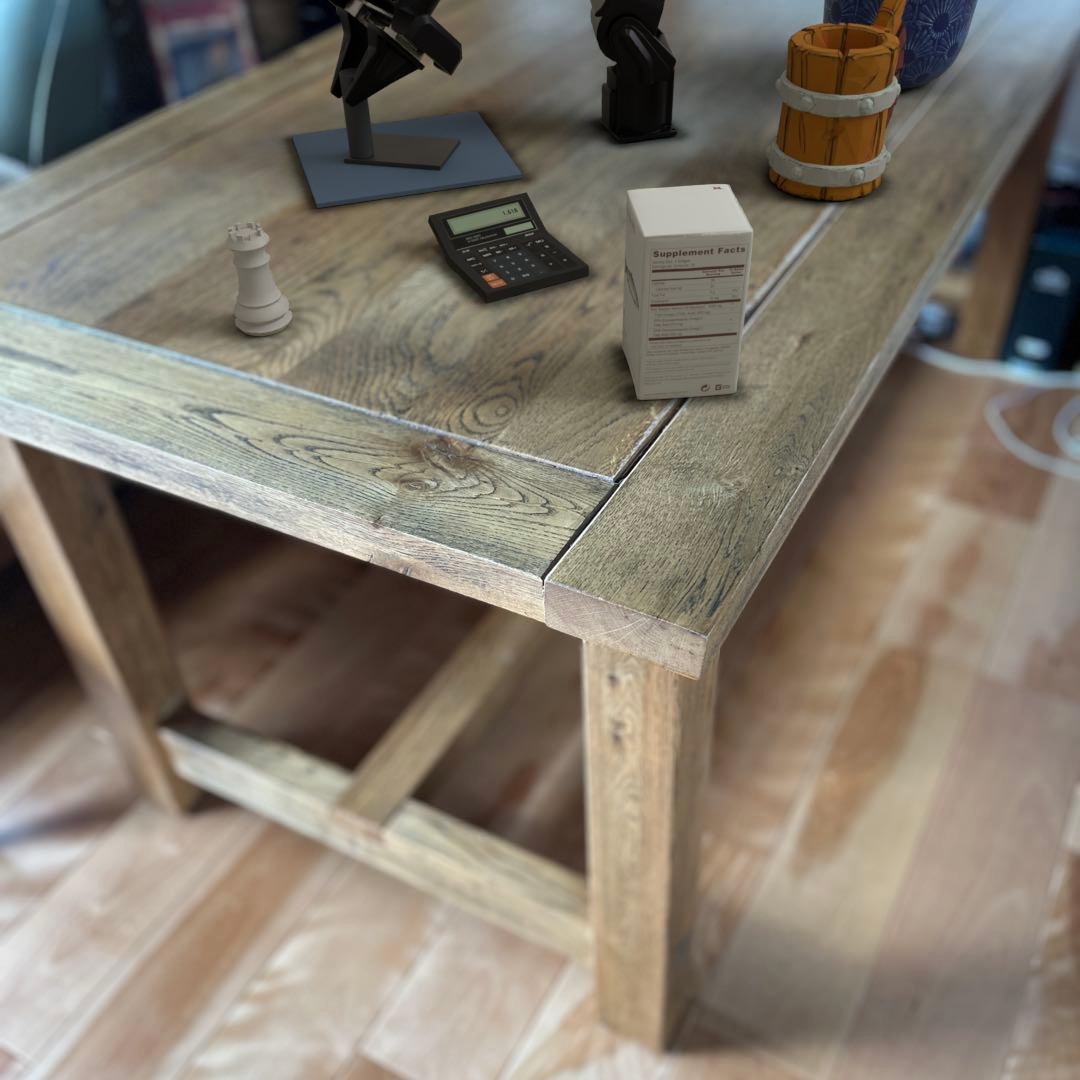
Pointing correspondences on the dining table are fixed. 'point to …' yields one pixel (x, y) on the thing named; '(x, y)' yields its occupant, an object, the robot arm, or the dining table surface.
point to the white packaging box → (685, 290)
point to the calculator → (504, 248)
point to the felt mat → (358, 183)
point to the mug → (838, 106)
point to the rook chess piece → (256, 283)
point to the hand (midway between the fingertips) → (340, 99)
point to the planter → (916, 32)
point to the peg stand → (389, 140)
